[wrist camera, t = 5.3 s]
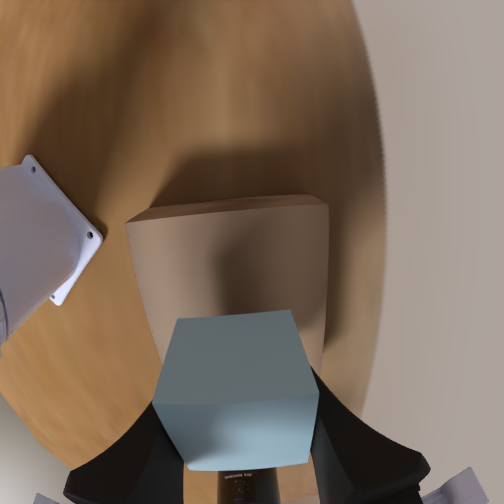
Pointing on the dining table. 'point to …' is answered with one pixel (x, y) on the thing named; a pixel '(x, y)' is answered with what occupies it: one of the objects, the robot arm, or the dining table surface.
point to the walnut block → (234, 263)
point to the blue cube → (238, 392)
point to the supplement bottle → (248, 486)
